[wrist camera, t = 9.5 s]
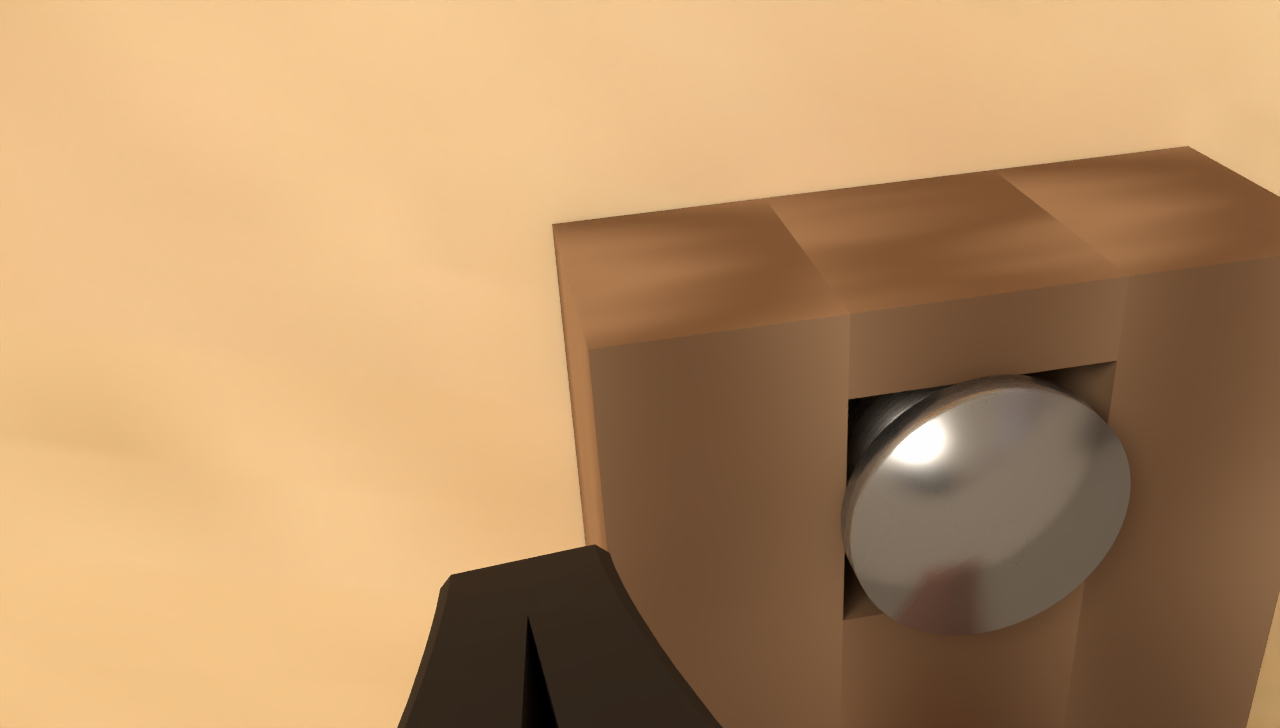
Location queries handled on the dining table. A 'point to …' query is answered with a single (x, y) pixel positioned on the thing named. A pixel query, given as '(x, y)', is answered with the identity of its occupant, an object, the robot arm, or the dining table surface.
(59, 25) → the dining table surface
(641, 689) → the robot arm
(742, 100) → the dining table surface
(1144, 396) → the socket block
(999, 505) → the grey plug
